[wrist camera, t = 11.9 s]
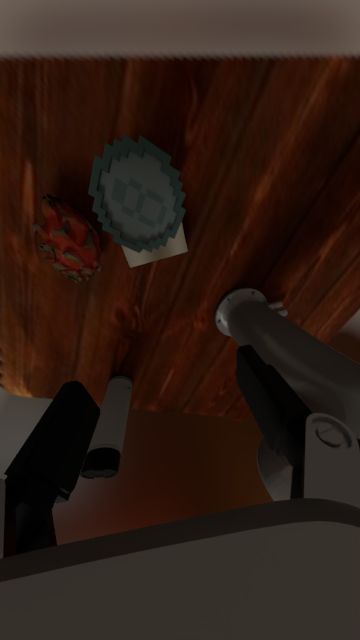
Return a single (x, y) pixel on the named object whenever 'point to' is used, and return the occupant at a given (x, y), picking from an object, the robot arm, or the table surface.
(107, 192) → the can
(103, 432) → the travel mug
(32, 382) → the table surface
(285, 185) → the table surface
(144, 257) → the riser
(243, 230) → the table surface
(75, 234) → the dragon fruit
